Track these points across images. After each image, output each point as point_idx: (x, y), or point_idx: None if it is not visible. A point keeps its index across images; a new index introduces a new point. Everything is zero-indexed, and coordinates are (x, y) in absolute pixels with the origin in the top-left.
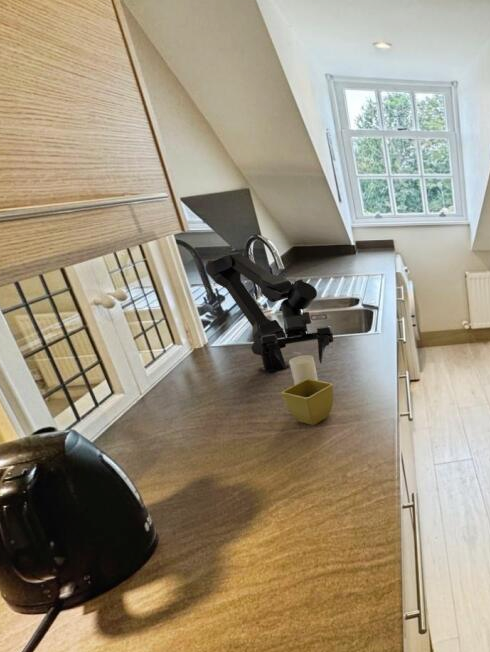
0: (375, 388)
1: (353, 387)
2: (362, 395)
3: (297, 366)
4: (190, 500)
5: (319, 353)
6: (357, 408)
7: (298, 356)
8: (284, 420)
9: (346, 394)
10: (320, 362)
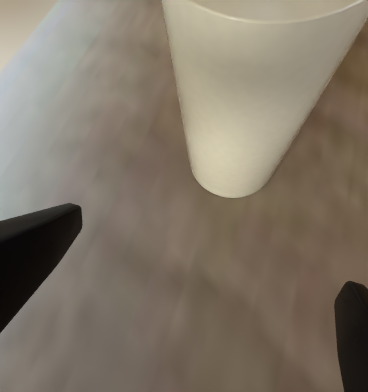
0: (11, 122)
1: (54, 181)
2: (70, 101)
3: None
4: None
5: (13, 228)
6: (128, 35)
7: (278, 13)
8: (346, 93)
9: (103, 142)
10: (77, 211)
